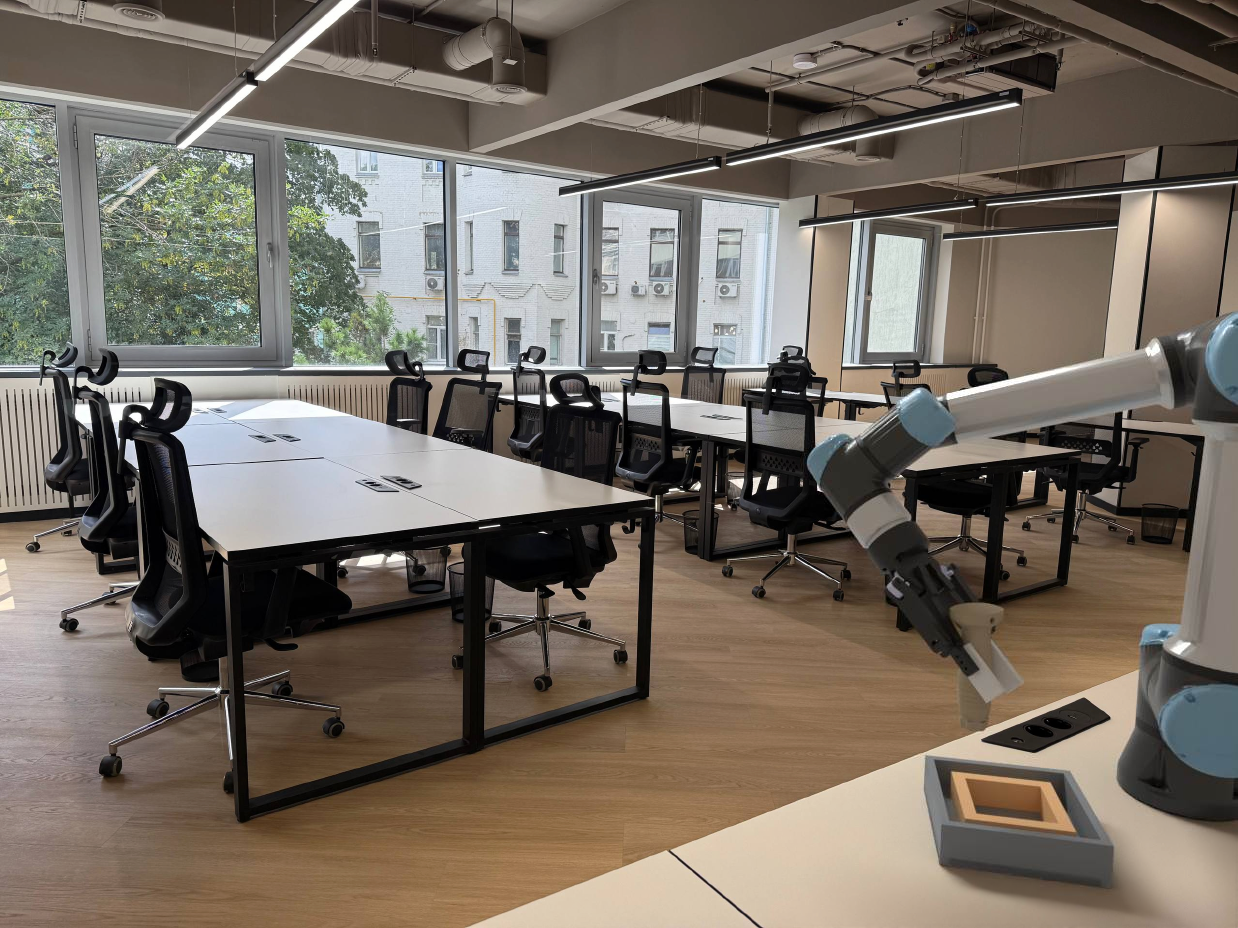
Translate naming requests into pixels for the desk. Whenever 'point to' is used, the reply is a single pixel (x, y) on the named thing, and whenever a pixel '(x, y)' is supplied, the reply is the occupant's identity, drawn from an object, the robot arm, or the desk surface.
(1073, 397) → the robot arm
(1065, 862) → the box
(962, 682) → the handle
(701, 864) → the desk surface
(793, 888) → the desk surface
